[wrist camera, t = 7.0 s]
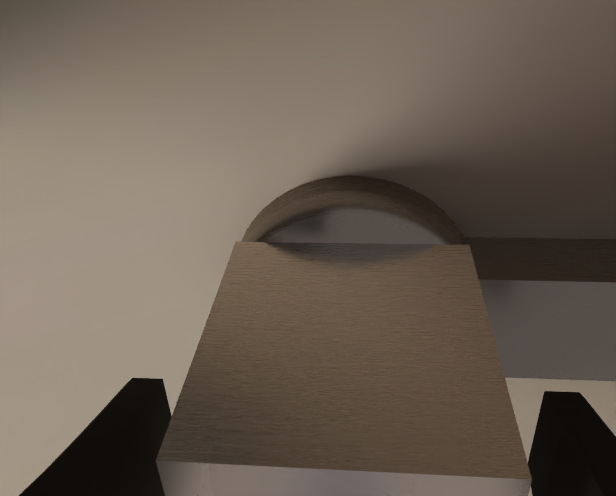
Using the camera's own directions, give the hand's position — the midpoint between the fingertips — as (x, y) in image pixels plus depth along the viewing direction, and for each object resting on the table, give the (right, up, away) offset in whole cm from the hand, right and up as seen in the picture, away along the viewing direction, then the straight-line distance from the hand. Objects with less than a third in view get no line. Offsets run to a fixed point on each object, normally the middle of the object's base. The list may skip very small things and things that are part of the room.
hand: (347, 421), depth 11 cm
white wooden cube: (0, +1, +2) cm, 3 cm away
